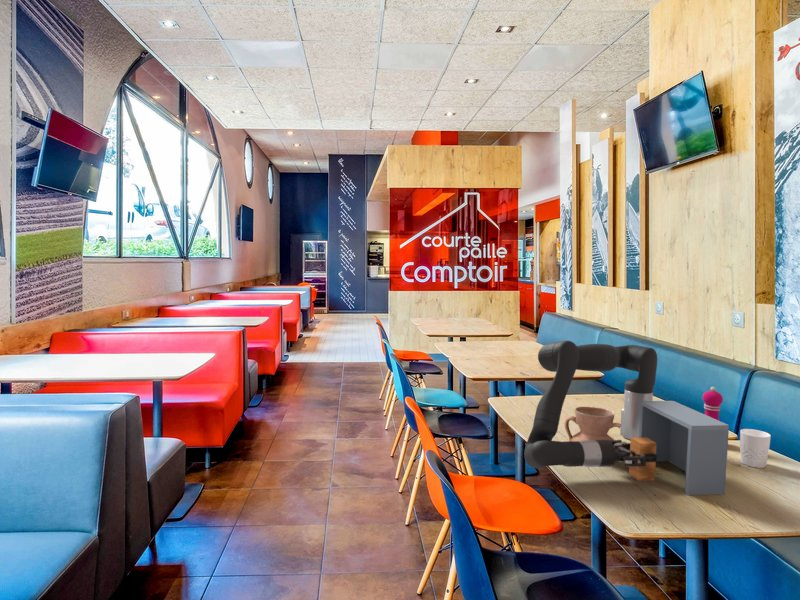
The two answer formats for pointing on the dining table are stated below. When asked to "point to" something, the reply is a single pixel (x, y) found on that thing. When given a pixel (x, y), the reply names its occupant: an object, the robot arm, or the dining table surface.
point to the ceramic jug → (591, 424)
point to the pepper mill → (712, 403)
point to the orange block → (642, 447)
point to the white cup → (754, 447)
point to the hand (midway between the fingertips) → (647, 452)
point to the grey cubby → (688, 443)
